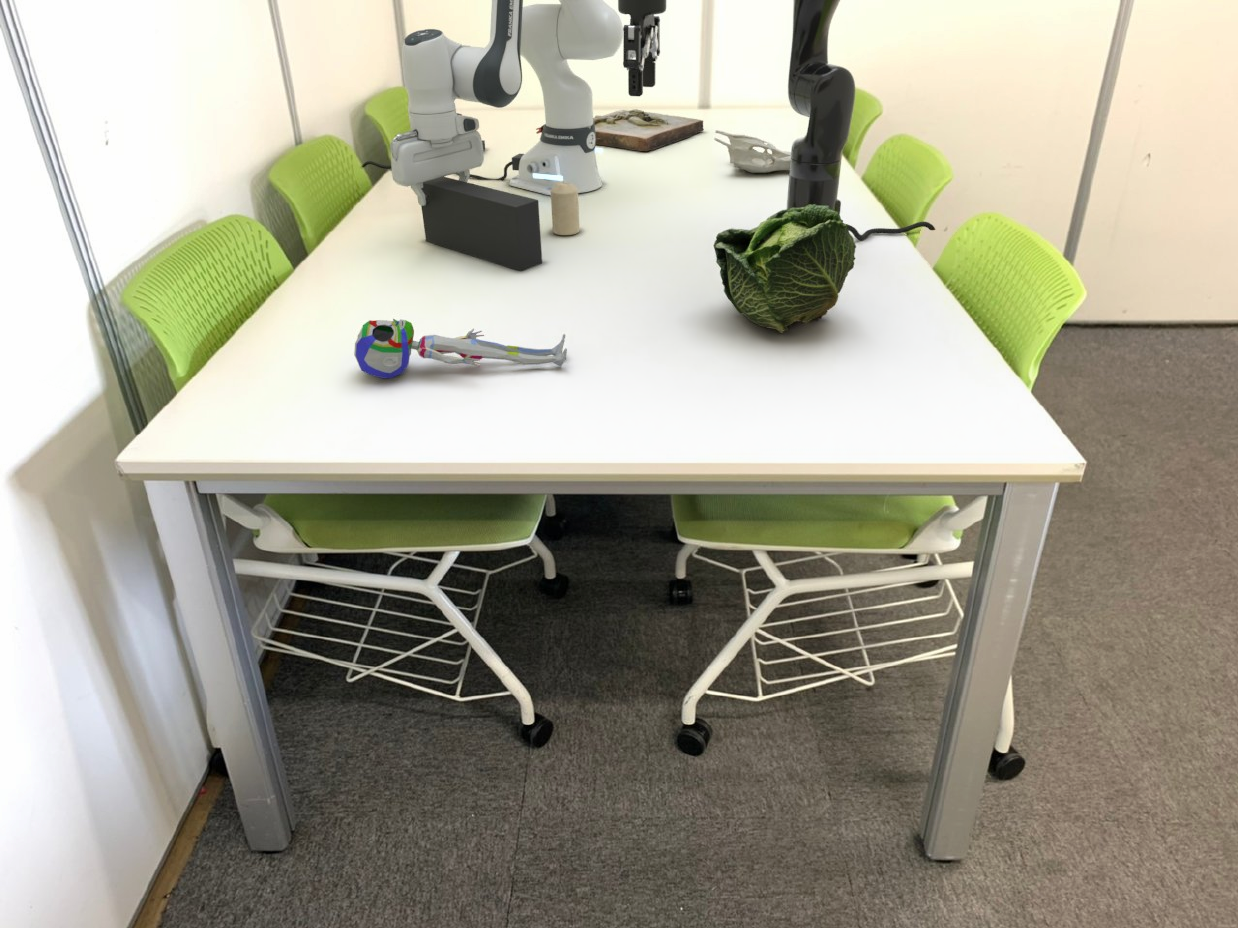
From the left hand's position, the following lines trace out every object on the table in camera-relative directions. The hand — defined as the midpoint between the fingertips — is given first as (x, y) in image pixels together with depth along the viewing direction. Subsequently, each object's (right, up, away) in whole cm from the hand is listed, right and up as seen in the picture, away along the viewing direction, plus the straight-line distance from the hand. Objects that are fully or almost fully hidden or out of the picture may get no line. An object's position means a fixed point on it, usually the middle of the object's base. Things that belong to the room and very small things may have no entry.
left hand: (443, 199), depth 177 cm
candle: (+24, -4, +8) cm, 26 cm away
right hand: (+39, +9, -31) cm, 50 cm away
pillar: (-5, +30, +63) cm, 70 cm away
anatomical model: (+71, +21, +47) cm, 88 cm away
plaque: (+39, +42, +82) cm, 100 cm away
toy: (+12, -38, -45) cm, 60 cm away
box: (+8, -11, -1) cm, 13 cm away
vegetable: (+61, -29, -32) cm, 75 cm away
